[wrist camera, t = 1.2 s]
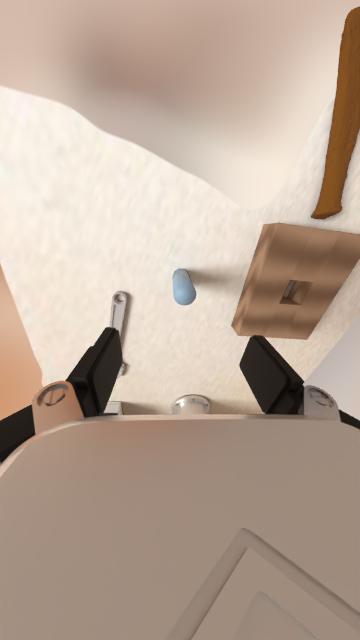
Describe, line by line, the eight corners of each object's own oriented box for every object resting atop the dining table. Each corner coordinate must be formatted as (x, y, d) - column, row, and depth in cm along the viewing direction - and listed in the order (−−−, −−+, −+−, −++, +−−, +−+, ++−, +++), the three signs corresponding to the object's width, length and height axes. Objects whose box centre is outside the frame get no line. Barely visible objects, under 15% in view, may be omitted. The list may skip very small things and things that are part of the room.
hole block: (294, 329, 37) (307, 339, 33) (231, 325, 35) (238, 335, 32) (347, 236, 27) (373, 236, 23) (263, 224, 25) (278, 222, 22)
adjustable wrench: (115, 288, 30) (112, 290, 28) (146, 298, 31) (145, 302, 30) (97, 372, 41) (94, 377, 39) (121, 377, 42) (119, 382, 41)
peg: (187, 285, 30) (194, 306, 21) (172, 283, 29) (172, 304, 21) (189, 269, 28) (197, 285, 20) (173, 268, 28) (174, 283, 19)
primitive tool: (344, 14, 16) (384, -36, 13) (396, 1, 16) (448, -53, 13) (304, 221, 26) (322, 220, 23) (336, 215, 26) (359, 212, 23)
